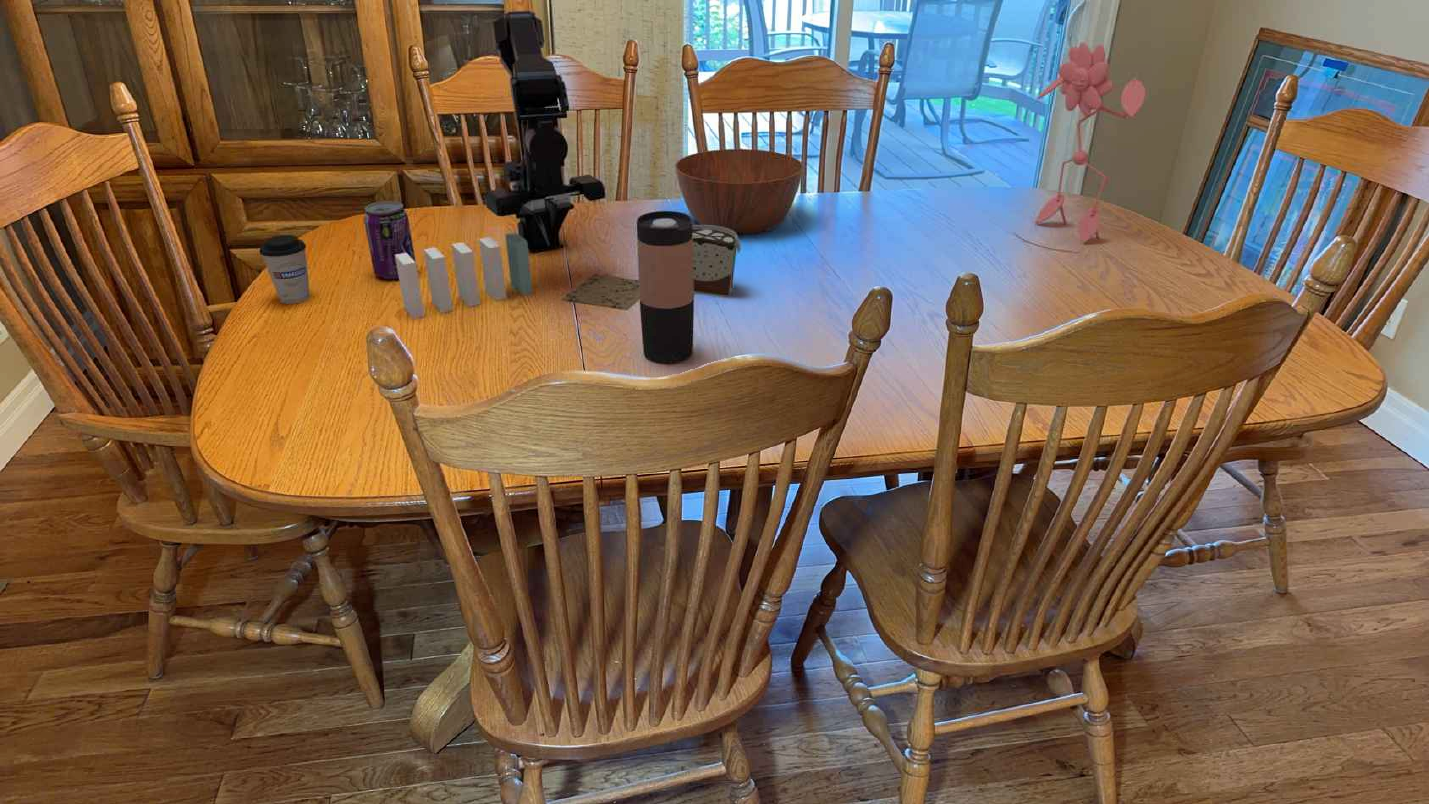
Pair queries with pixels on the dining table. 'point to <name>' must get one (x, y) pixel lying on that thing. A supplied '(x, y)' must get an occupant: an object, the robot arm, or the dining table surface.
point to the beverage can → (387, 236)
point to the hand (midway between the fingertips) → (551, 245)
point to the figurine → (1085, 88)
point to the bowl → (739, 187)
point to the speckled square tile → (606, 292)
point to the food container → (714, 259)
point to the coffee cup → (287, 267)
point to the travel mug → (666, 285)
